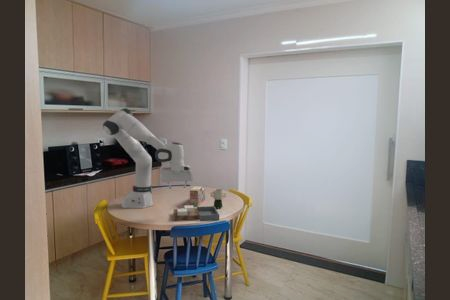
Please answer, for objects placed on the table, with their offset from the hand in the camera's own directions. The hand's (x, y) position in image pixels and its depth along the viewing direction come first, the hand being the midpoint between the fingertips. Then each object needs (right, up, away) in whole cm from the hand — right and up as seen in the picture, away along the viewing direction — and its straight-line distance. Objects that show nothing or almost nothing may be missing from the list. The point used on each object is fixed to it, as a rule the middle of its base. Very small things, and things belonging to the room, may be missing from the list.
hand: (177, 188), depth 203 cm
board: (+6, -19, -1) cm, 20 cm away
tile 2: (+4, -16, -5) cm, 17 cm away
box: (+20, -19, +2) cm, 27 cm away
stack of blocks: (+11, -15, +33) cm, 38 cm away
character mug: (+26, -17, +21) cm, 37 cm away
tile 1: (+7, -15, +3) cm, 17 cm away
